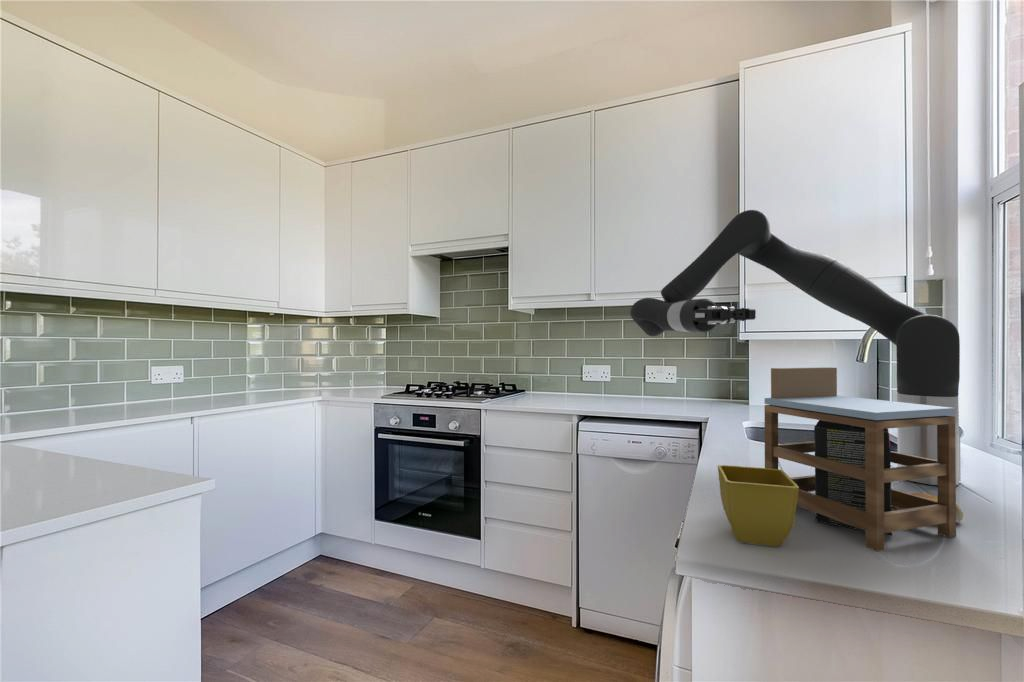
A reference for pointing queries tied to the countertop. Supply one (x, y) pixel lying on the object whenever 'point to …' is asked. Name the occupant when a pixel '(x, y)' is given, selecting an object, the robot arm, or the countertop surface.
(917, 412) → the lid
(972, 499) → the countertop surface
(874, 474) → the crate
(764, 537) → the flower pot
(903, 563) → the countertop surface
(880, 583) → the countertop surface
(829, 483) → the tampon box
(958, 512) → the pastry
